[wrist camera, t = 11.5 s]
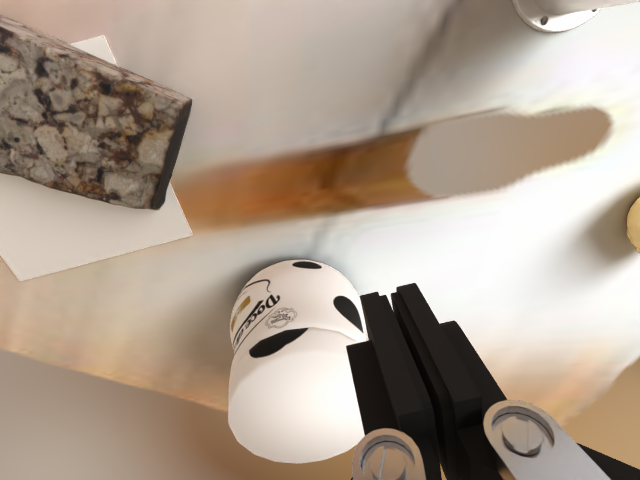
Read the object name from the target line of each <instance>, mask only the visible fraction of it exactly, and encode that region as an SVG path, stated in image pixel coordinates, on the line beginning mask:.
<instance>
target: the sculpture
mask: <svg viewBox="0 0 640 480" xmlns="http://www.w3.org/2000/svg"><path fill="white" fill-rule="evenodd" d="M627 227H628V231H627V236H628V238H629V240H630V242H631V243H632V244H633V245H634V246H635V247H636V250H637V252H639V253H640V197H639V198H638V199H637V200H636V201H635V202H634V204H633V205H632V207H631V208H630V210H629V213H628V217H627Z"/></svg>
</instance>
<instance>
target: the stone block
mask: <svg viewBox="0 0 640 480" xmlns="http://www.w3.org/2000/svg"><path fill="white" fill-rule="evenodd" d="M191 106H192V99H190V98H187V97H185V96H183V95H182V94H179V93H177V92H175V91H173V90H171V89H169V88H166V87H163V86H161V85H159V84H157V83H155V82H153V81H151V80H149V79H146V78H144V77H142V76H139V75H137V74H135V73H133V72H130V71H128V70H126V69H123V68H121V67H118V66H117V65H115V64H112V63H109V62H107V61H105V60H103V59H100V58H98V57H96V56H93V55H91V54H89V53H87V52H85V51H82V50H80V49H78V48H76V47H74V46H72V45H69V44H67V43H65V42H63V41H60V40H57V39H55V38H53V37H51V36H48V35H46V34H44V33H42V32H40V31H37V30H34V29H32V28H29V27H27V26H25V25H23V24H20V23H18V22H16V21H14V20H12V19H9V18H7V17H5V16H2V15H0V173H2V174H7V175H13V176H19V177H22V178H24V179H26V180H29V181H31V182H34V183H38V184H41V185H43V186H45V187H48V188H51V189H55V190H58V191H63V192H67V193H71V194H76V195H79V196H83V197H86V198H89V199H93V200H98V201H102V202H106V203H109V204H112V205H119V206H124V207H128V208H134V209H151V210H160V208H161V207H162V206H163V205H164V203H165V200H166V199H165V198H166V191H167V188H168V185H169V182H170V178H171V176H172V172H173V169H174V166H175V163H176V159H177V156H178V153H179V149H180V146H181V142H182V139H183V135H184V132H185V128H186V125H187V121H188V118H189V115H190V111H191Z"/></svg>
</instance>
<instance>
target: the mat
mask: <svg viewBox="0 0 640 480" xmlns="http://www.w3.org/2000/svg"><path fill="white" fill-rule="evenodd" d="M69 45H72V46H74V47H76V48H78V49H80V50H82V51H85V52H87V53H89V54H91V55H93V56H96V57H98V58H100V59H103V60H105V61H107V62H109V63H112V64H115V65H117V63H116V61H115V58H114V56H113V54H112V52H111V50H110V47H109V45H108V43H107V41H106V38H105V36H104V35H101V36H98V37H94V38H90V39H87V40H83V41H79V42H75V43H72V44H69ZM117 66H118V65H117ZM165 199H166V200H165V203H164V205H163V206H162V207H161V208H160V210H151V209H134V208H128V207H124V206H119V205H112V204H109V203H106V202H102V201H98V200H93V199H89V198H86V197H83V196H79V195H76V194H71V193H67V192H63V191H58V190H55V189H51V188H48V187H45V186H43V185H41V184H38V183H34V182H31V181H29V180H26V179H24V178H22V177H19V176H13V175H7V174H2V173H0V256H1V257H2V258H3V260H4V261H5V262H6V264H7V265H8V266H9V268H10V269H11V270H12V272H13V273H14V274H15V276H16V277H17V278H18V280H19V281H20V282H21V281H25V280H29V279H32V278H36V277H40V276H44V275H47V274H51V273H55V272H59V271H62V270H66V269H70V268H74V267H77V266H81V265H85V264H89V263H92V262H96V261H100V260H103V259H107V258H111V257H115V256H118V255H122V254H126V253H130V252H133V251H137V250H141V249H145V248H148V247H152V246H156V245H160V244H163V243H167V242H171V241H175V240H178V239H182V238H186V237H190V236H193V233H192V230H191V228H190V226H189V224H188V221H187V219H186V217H185V215H184V212H183V210H182V208H181V206H180V204H179V201H178V199H177V197H176V195H175V192H174V190H173V188H172V186H171V183H170V182H169V185H168V188H167V191H166V198H165Z"/></svg>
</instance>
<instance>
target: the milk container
mask: <svg viewBox="0 0 640 480" xmlns="http://www.w3.org/2000/svg"><path fill="white" fill-rule="evenodd" d="M230 337H231V343H232V347H233V351H234V355H233V361H232V366H231V372H230V381H229V396H228V422H229V426H230V428H231V430H232V432H233V434H234V435H235V437H236V439H237V441H238V442H239V443H240V444H241V445H243V446H244V447H245V448H247V449H248V450H250V452H252V453H253V454H255V455H258V456H261V457H263V458H267V459H269V460H273V461H275V462H286V463H299V464H300V463H307V462H314V461H320V460H325V459H327V458H330V457H333V456H335V455H338V454H341V453H344V452H346V451H348V450H349V449H351V448H352V447H353V446H355V445H357V444H358V443H359V442H360V441H361V439H362V438H363V437H364V436H365V434H364V430H363V425H362V420H361V416H360V411H359V406H358V401H357V397H356V392H355V387H354V383H353V378H352V373H351V368H350V364H349V359H348V354H347V349H346V346H347V345H352V344H356V343H360V342H364V341H367V340H366V324H365V319H364V314H363V310H362V305H361V300H360V298H359V296H358V294H357V292H356V290H355V289H354V287H353V286H352V285H351V283H350V282H349V281H348V280H347V279H346V278H345V277H344V276H343V275H342V274H341V273H340V272H339V271H337V270H336V269H334V268H332V267H330V266H328V265H326V264H323V263H320V262H316V261H310V260H304V259H301V260H289V261H282V262H279V263H276V264H274V265H271V266H269V267H267V268H265V269H263V270H261V271H260V272H258V273H257V274H256V275H254V276H253V277H252V278H251V279H250V280H249V281H248V282H247V283H246V285H245V286H244V287H243V289H242V290H241V292H240V294H239V296H238V298H237V300H236V302H235V305H234V307H233V311H232V315H231V320H230Z"/></svg>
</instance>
